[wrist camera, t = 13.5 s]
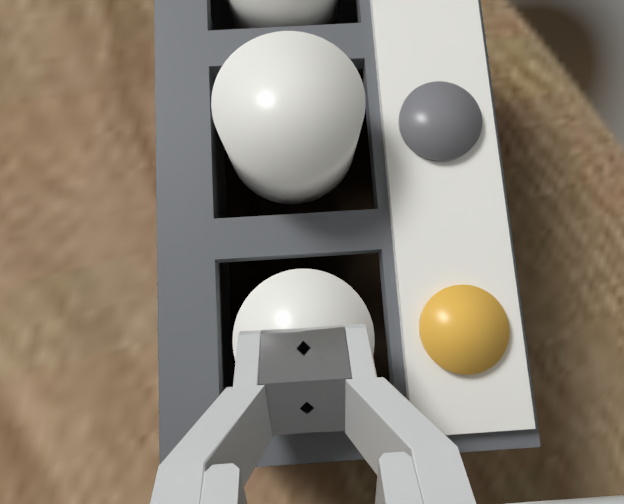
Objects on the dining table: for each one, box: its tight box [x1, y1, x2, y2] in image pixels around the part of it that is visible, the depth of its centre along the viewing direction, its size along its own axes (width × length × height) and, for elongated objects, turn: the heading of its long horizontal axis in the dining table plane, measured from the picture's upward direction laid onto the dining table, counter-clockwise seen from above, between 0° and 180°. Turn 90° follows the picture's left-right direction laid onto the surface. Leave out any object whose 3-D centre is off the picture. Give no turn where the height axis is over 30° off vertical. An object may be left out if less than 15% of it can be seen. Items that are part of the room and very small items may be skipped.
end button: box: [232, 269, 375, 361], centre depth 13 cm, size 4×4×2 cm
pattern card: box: [370, 0, 536, 435], centre depth 13 cm, size 16×3×1 cm, turn 4°
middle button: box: [211, 31, 366, 204], centre depth 12 cm, size 4×4×2 cm
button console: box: [154, 0, 541, 467], centre depth 17 cm, size 17×9×8 cm, turn 4°
